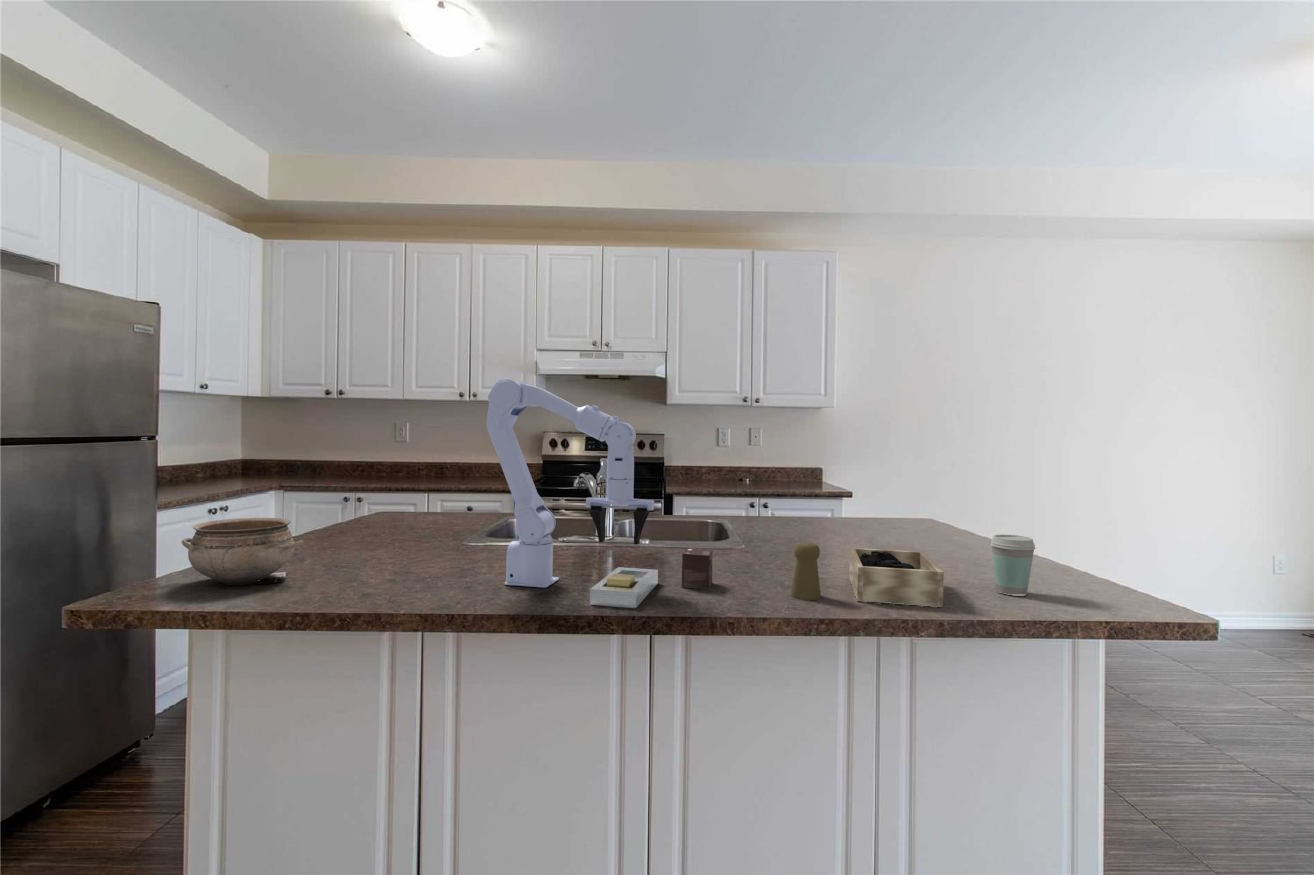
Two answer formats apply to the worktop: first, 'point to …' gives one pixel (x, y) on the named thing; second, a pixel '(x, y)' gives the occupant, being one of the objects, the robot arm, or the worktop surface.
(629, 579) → the pale yellow wooden cube
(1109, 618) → the worktop surface
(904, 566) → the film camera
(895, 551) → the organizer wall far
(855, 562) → the organizer wall panel
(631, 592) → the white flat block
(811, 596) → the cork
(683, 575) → the box
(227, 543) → the cooking pot
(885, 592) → the wall
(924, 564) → the wall
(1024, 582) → the coffee cup
